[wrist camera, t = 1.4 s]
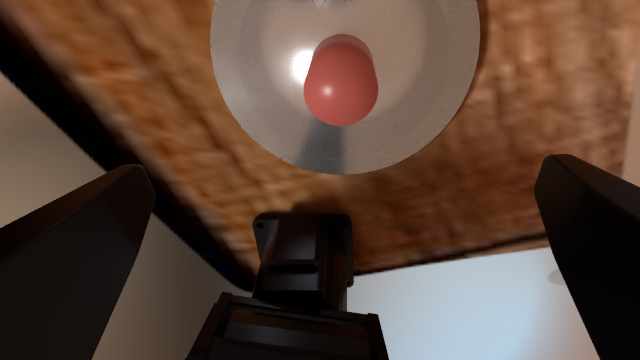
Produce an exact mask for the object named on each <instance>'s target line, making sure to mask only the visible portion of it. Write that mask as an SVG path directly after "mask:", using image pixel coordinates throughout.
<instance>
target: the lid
mask: <svg viewBox="0 0 640 360" xmlns="http://www.w3.org/2000/svg"><path fill="white" fill-rule="evenodd" d="M210 42H211V57H212V63H213V69H214V73H215V76H216V80H217V83H218V87H219V89H220V91H221V94H222V96H223V98H224V101H225V102H226V104H227V106H228V108H229V109H230V111H231V113H232V115H233V116H234V117H235V119H236V120H237V121H238V123H239V124H240V126H241V127H242V128H243V129H244V130H245V131H246V132H247V133H248V134H249V136H250V137H251V138H252V139H253V140H255V141H256V142H257V143H258V144H259V145H260V146H262V147H263V148H264V149H265V150H267V151H269V152H270V153H272V154H273V155H275V156H276V157H278V158H280V159H282V160H284V161H286V162H288V163H290V164H292V165H295V166H297V167H300V168H303V169H306V170H310V171H314V172H319V173H326V174H339V175H349V174H361V173H366V172H371V171H376V170H379V169H382V168H385V167H389V166H391V165H393V164H396V163H398V162H400V161H402V160H404V159H406V158H408V157H409V156H411V155H413V154H415V153H416V152H418V151H419V150H420V149H422V148H423V147H424V146H426V145H427V144H429V143H430V142H431V141H432V140H433V139H434V138H435V137H436V136H437V135H438V134H439V133H440V132H441V131H442V130H443V129H444V128H445V127H446V125H447V124H448V123H449V122H450V121H451V119H452V118H453V116H454V115H455V113H456V112H457V110H458V109H459V107H460V106H461V104H462V102H463V100H464V98H465V96H466V94H467V92H468V90H469V87H470V85H471V82H472V79H473V76H474V74H475V69H476V65H477V60H478V56H479V45H480V19H479V13H478V7H477V2H476V0H216V1H215V5H214V10H213V14H212V21H211V32H210Z"/></svg>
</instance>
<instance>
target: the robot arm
mask: <svg viewBox="0 0 640 360" xmlns="http://www.w3.org/2000/svg"><path fill="white" fill-rule="evenodd" d="M534 194H535V198H536V202H537V205H538V208H539V211H540V214H541V218H542V221H543V224H544V227H545V231H546V234H547V237H548V240H549V244H550V247H551V250H552V252H553V255H554V258H555V260H556V262H557V265H558V267H559V270H560V272H561V274H562V276H563V278H564V281H565V283H566V285H567V287H568V290H569V292H570V294H571V296H572V298H573V301H574V303H575V305H576V307H577V309H578V312H579V314H580V316H581V318H582V320H583V323H584V325H585V327H586V329H587V331H588V334H589V336H590V338H591V340H592V343H593V345H594V347H595V349H596V351H597V354H598V356H599V358H600V360H640V187H638V186H636V185H634V184H632V183H629V182H627V181H625V180H623V179H621V178H619V177H617V176H615V175H613V174H611V173H608V172H606V171H604V170H602V169H600V168H598V167H596V166H594V165H591V164H589V163H587V162H585V161H583V160H581V159H579V158H577V157H575V156H572V155H570V154H551V155H548V156H546V158H545V159H544V161H543V163H542V166H541V169H540V172H539V175H538V178H537V180H536V183H535V188H534ZM154 203H155V192H154V189H153V187H152V185H151V183H150V180H149V178H148V176H147V174H146V172H145V170H144V168H143V167H142V166H140V165H122V166H120V167H118V168H116V169H114V170H112V171H110V172H108V173H106V174H104V175H102V176H100V177H98V178H96V179H95V180H93V181H91V182H89V183H87V184H85V185H83V186H81V187H79V188H77V189H75V190H73V191H71V192H69V193H68V194H66V195H64V196H62V197H60V198H58V199H56V200H54V201H52V202H50V203H48V204H46V205H44V206H42V207H41V208H38V209H37V210H35V211H33V212H31V213H29V214H27V215H25V216H23V217H21V218H19V219H17V220H15V221H13V222H11V223H10V224H7V225H5V226H4V227H2V228H0V360H91V359H92V357H93V355H94V352H95V350H96V348H97V346H98V344H99V341H100V339H101V336H102V335H103V332H104V330H105V328H106V326H107V323H108V321H109V319H110V317H111V314H112V312H113V310H114V307H115V305H116V303H117V301H118V299H119V296H120V294H121V292H122V290H123V287H124V285H125V283H126V280H127V278H128V276H129V274H130V271H131V269H132V267H133V265H134V262H135V260H136V257H137V255H138V252H139V249H140V247H141V243H142V240H143V237H144V234H145V231H146V228H147V225H148V222H149V218H150V215H151V212H152V209H153V206H154ZM343 221H345V222H347V223H341V222H343ZM259 223H262V224H263V225H261V224H259ZM253 230H254V234H255V239H256V244H257V248H258V253H259V257H260V262H261V263H260V267H259V271H258V275H257V279H256V282H255V286H254V290H253V294H252V297H251V298H249V297H242V296H235V295H232V293H227V292H222V294H221V296H220V298H219V300H218V302H217V303H215V304H214V305H213V307H212V309H211V311H210V313H209V315H208V317H207V319H206V321H205V323H204V325H203V327H202V329H201V331H200V333H199V335H198V337H197V339H196V341H195V343H194V344H193V346H192V348H191V350H190V352H189V354H188V356H187V357H186V358H185V359H184V360H389V358H388V353H387V349H386V345H385V342H384V337H383V333H382V330H381V325H380V321H379V317H378V314H372V313H368V314H360V313H352V312H347V287H351V286H352V285H353V283H354V277H353V244H352V219H351V217H350V216H348V215H344V214H339V215H280V216H257V217H255V219H254V221H253Z"/></svg>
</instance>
